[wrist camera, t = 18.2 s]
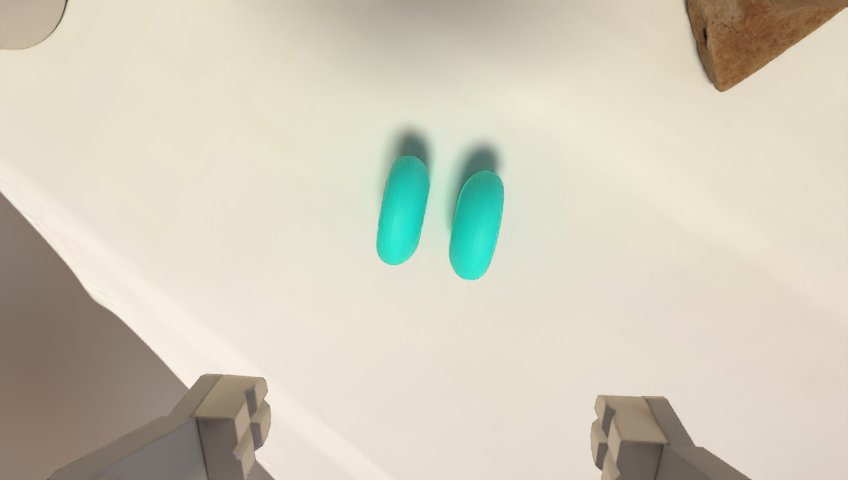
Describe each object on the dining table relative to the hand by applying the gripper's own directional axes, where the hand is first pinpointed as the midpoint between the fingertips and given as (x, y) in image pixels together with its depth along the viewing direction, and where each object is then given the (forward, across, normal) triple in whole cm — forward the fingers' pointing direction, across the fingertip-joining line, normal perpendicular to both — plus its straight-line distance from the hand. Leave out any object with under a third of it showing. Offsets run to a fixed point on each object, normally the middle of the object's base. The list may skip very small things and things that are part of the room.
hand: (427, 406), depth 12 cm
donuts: (+37, +1, +6) cm, 38 cm away
